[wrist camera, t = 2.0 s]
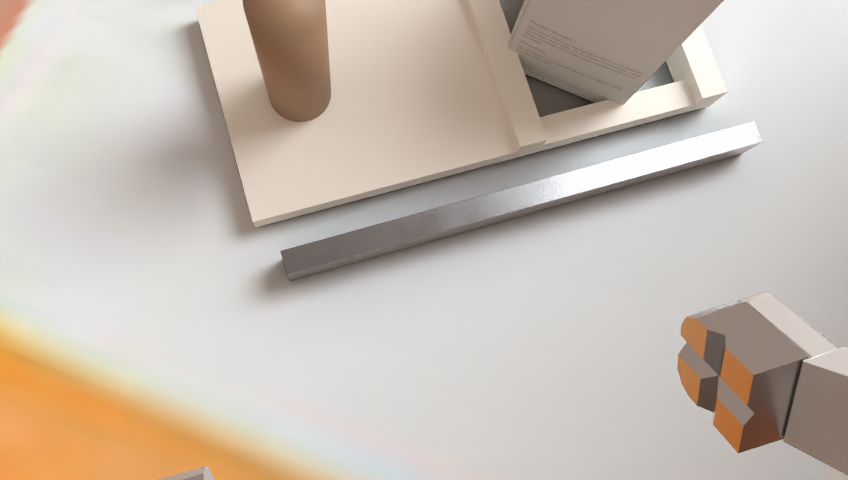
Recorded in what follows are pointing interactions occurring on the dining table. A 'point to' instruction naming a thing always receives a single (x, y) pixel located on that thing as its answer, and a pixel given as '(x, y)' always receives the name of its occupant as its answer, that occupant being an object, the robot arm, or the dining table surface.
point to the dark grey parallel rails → (516, 201)
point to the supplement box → (602, 42)
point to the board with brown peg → (395, 96)
